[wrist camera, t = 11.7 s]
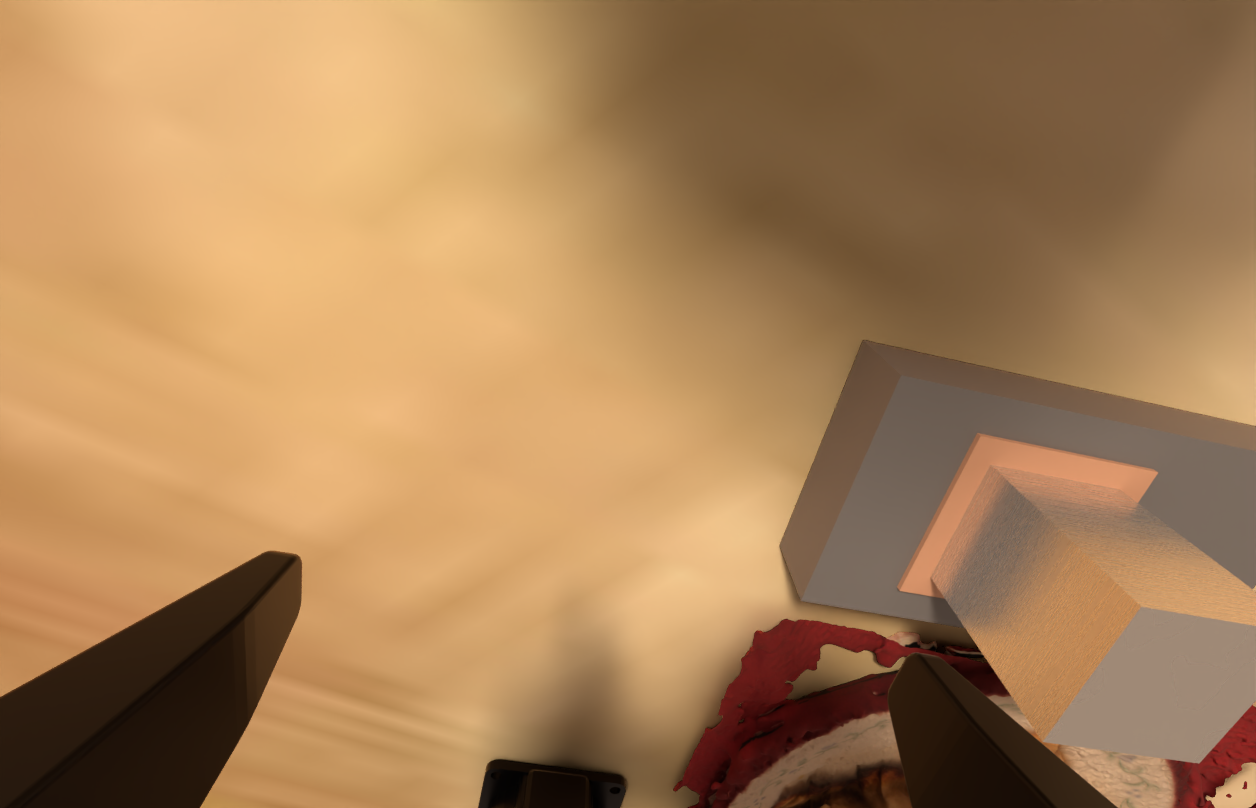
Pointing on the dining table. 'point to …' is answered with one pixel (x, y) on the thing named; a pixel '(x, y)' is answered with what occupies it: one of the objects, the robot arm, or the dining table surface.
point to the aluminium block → (1101, 617)
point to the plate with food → (892, 735)
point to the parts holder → (960, 456)
